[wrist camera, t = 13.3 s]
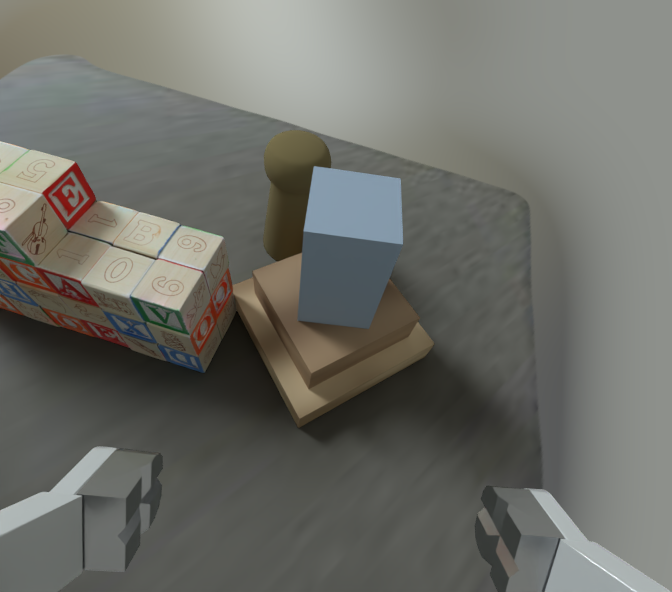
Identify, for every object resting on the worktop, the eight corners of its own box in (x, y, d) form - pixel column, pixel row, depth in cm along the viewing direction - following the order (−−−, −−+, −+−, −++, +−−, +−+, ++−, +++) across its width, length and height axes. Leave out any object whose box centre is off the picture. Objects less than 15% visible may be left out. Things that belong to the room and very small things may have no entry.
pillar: (297, 320, 26) (303, 231, 19) (305, 263, 29) (313, 166, 21) (368, 329, 27) (403, 244, 19) (370, 271, 29) (400, 178, 22)
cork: (299, 276, 35) (305, 181, 26) (249, 243, 36) (239, 142, 27) (337, 239, 38) (354, 142, 29) (290, 209, 40) (292, 108, 30)
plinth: (232, 302, 33) (224, 263, 28) (350, 256, 37) (359, 215, 32) (298, 428, 28) (301, 405, 23) (424, 356, 32) (448, 325, 27)
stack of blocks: (239, 310, 33) (220, 202, 22) (205, 375, 29) (164, 284, 19) (13, 238, 34) (-104, 105, 24) (-46, 294, 30) (-213, 166, 20)
